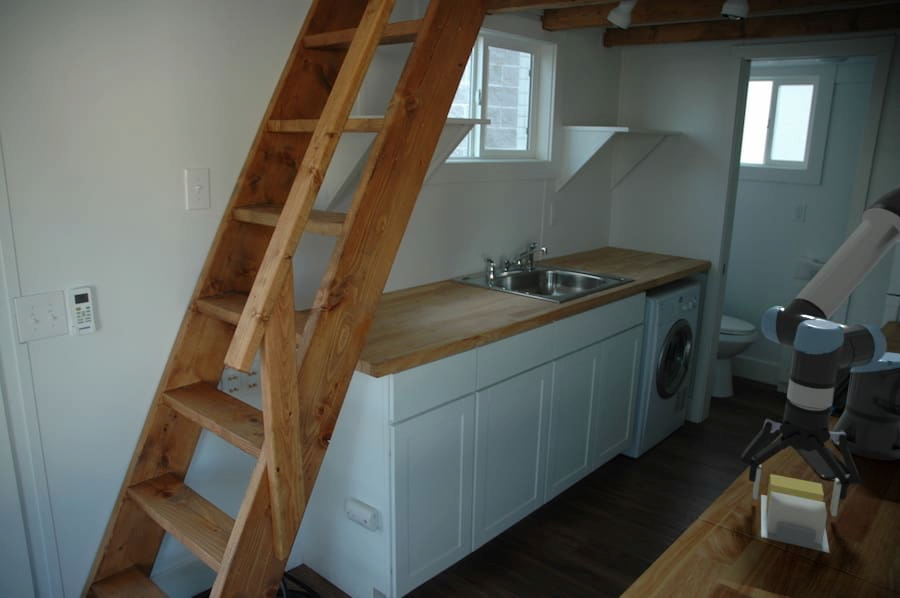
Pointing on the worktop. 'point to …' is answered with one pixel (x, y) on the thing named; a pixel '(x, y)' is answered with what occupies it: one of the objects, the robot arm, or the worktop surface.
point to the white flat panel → (796, 513)
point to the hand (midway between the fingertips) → (793, 504)
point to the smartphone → (821, 463)
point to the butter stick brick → (794, 488)
